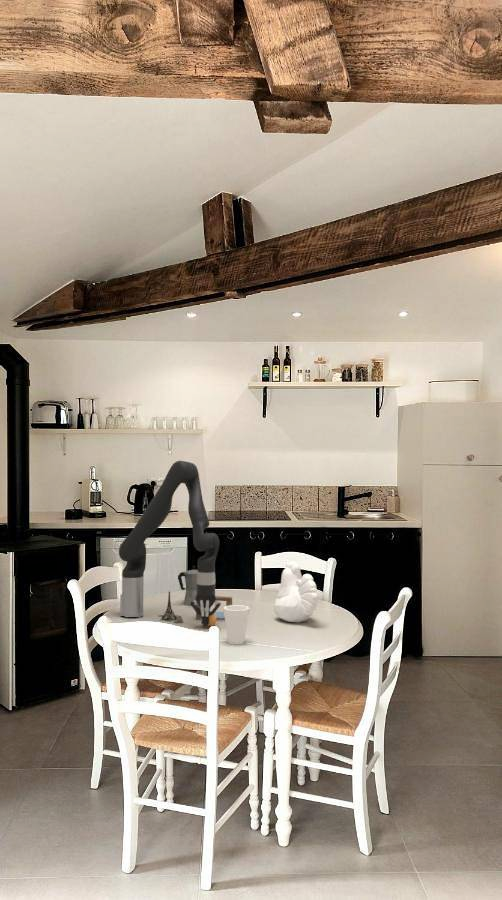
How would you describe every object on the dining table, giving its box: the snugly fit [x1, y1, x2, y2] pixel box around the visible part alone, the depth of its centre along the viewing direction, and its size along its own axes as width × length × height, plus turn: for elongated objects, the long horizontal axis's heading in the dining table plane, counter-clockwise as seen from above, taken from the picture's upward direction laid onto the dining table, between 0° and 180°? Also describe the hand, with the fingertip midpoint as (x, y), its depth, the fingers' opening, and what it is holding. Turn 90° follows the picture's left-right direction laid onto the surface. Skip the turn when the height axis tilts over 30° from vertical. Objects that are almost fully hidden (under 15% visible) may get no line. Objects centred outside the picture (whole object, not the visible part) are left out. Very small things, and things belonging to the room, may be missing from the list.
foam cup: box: [223, 604, 250, 646], centre depth 271 cm, size 10×9×13 cm
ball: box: [206, 610, 217, 627], centre depth 295 cm, size 6×6×6 cm
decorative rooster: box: [273, 560, 319, 623], centre depth 303 cm, size 25×16×25 cm, turn 16°
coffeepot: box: [177, 565, 198, 607], centre depth 335 cm, size 15×9×18 cm, turn 129°
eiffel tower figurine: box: [157, 590, 184, 624], centre depth 306 cm, size 15×10×13 cm
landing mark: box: [214, 611, 225, 620], centre depth 314 cm, size 12×12×1 cm
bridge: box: [195, 595, 233, 621], centre depth 306 cm, size 3×15×10 cm, turn 82°
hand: (205, 625), depth 291 cm, fingers closed
